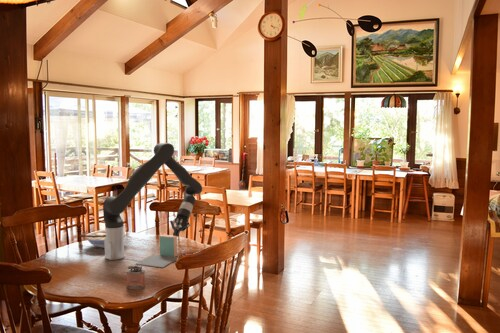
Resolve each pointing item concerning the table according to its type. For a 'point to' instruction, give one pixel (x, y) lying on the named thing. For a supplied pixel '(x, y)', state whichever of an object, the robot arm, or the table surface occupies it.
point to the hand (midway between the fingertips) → (175, 236)
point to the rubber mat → (157, 261)
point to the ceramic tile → (168, 245)
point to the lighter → (135, 277)
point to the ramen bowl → (97, 238)
